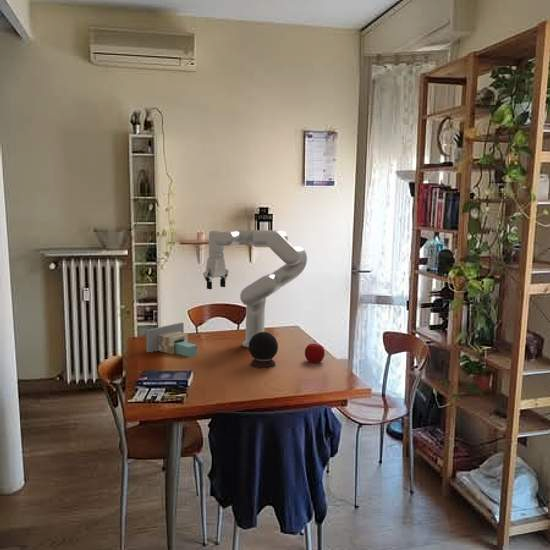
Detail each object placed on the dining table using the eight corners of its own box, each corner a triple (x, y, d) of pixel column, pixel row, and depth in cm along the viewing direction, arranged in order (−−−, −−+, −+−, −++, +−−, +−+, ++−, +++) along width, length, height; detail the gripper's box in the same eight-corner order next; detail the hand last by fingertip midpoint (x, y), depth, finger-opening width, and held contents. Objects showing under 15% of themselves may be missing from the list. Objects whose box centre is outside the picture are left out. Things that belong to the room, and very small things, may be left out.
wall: (183, 344, 272) (183, 323, 270) (148, 353, 255) (148, 330, 253) (181, 343, 273) (181, 322, 271) (146, 352, 256) (146, 330, 254)
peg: (197, 355, 254) (197, 345, 253) (189, 357, 250) (189, 347, 249) (177, 349, 262) (177, 339, 262) (169, 351, 258) (169, 341, 258)
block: (188, 349, 262) (187, 333, 261) (170, 354, 253) (170, 338, 252) (175, 346, 267) (175, 330, 266) (158, 350, 259) (158, 334, 258)
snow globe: (258, 358, 249) (259, 327, 247) (282, 363, 243) (283, 331, 241) (242, 365, 238) (243, 333, 236) (267, 371, 231) (268, 337, 229)
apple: (301, 363, 244) (301, 341, 243) (309, 358, 252) (309, 337, 251) (319, 366, 240) (320, 344, 238) (327, 361, 248) (327, 340, 246)
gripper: (222, 253, 281) (222, 285, 283) (198, 255, 268) (198, 289, 270) (233, 254, 276) (232, 286, 279) (209, 256, 263) (209, 290, 265)
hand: (216, 287), depth 274 cm, fingers open, 9 cm apart
